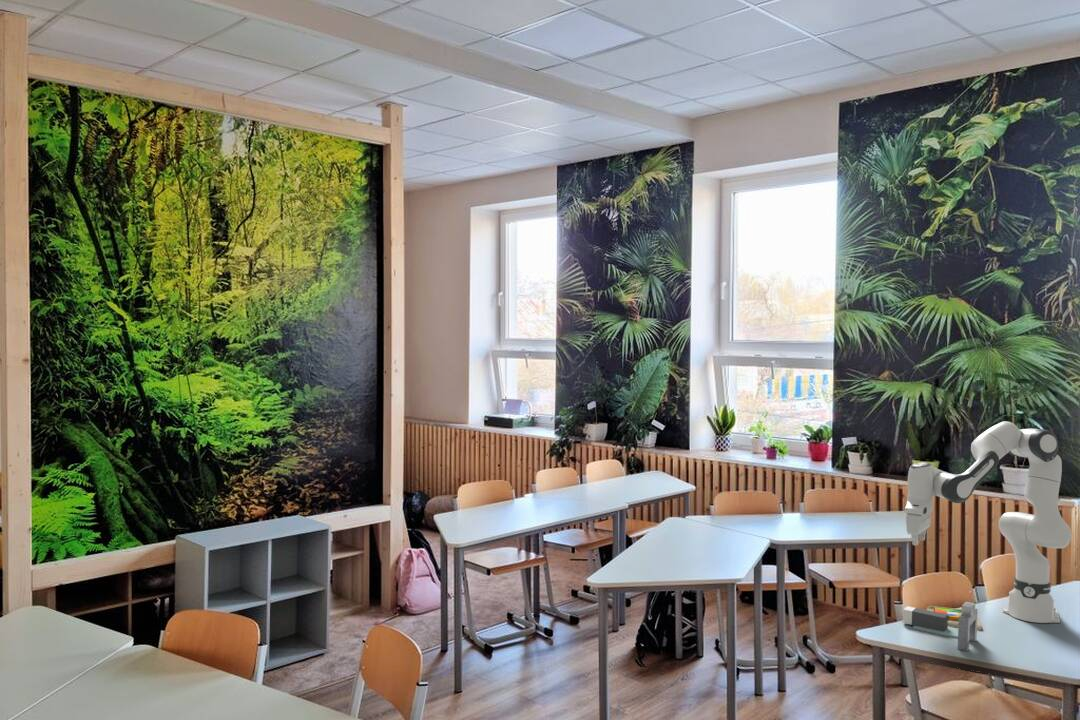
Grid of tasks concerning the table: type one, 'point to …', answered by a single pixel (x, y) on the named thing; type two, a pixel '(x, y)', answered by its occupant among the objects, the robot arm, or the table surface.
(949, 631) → the mat
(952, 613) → the wooden puzzle
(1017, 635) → the table surface
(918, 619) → the plug
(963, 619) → the housing
